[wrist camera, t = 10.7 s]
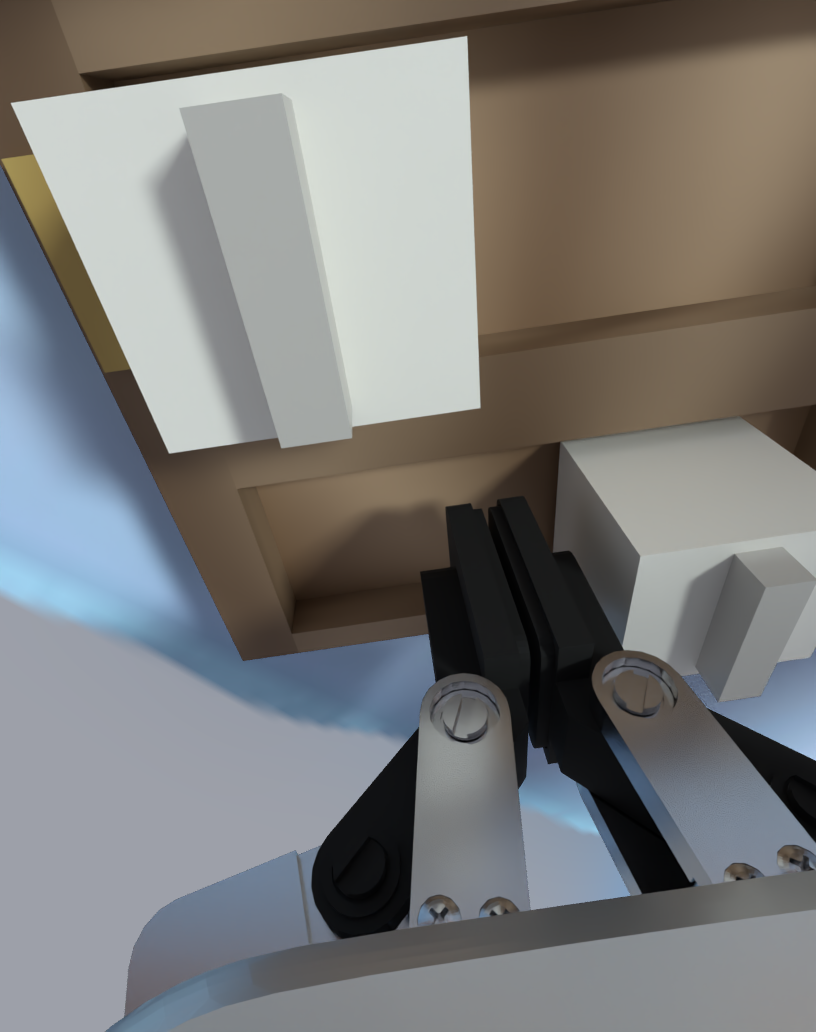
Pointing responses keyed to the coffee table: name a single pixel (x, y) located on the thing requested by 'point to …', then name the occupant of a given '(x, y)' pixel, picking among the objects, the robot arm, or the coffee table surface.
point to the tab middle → (279, 239)
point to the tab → (696, 546)
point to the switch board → (488, 270)
